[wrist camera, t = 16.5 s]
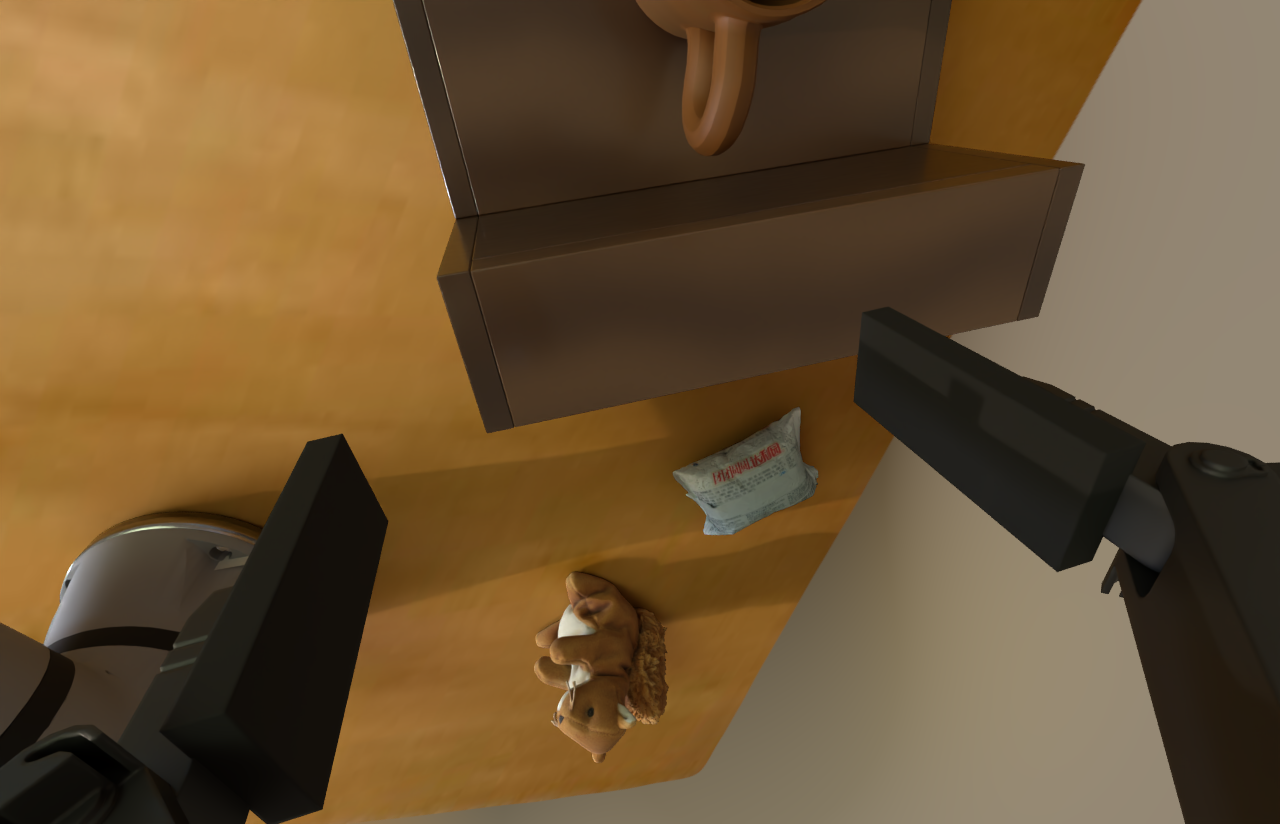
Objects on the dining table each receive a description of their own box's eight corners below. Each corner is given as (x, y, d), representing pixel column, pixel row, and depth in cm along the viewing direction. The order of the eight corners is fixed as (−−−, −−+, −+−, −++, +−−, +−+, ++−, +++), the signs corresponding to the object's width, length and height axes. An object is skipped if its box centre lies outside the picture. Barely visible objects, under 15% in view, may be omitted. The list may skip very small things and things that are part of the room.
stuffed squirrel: (565, 565, 50) (583, 698, 39) (683, 597, 56) (728, 721, 46) (517, 633, 54) (522, 774, 43) (634, 657, 60) (664, 785, 49)
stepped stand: (368, -142, 25) (214, -410, 11) (903, -183, 28) (1266, -425, 15) (491, 307, 37) (486, 434, 23) (858, 239, 40) (1039, 316, 27)
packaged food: (665, 456, 46) (681, 493, 42) (789, 395, 46) (818, 426, 42) (697, 519, 51) (715, 557, 47) (810, 464, 51) (838, 498, 47)
